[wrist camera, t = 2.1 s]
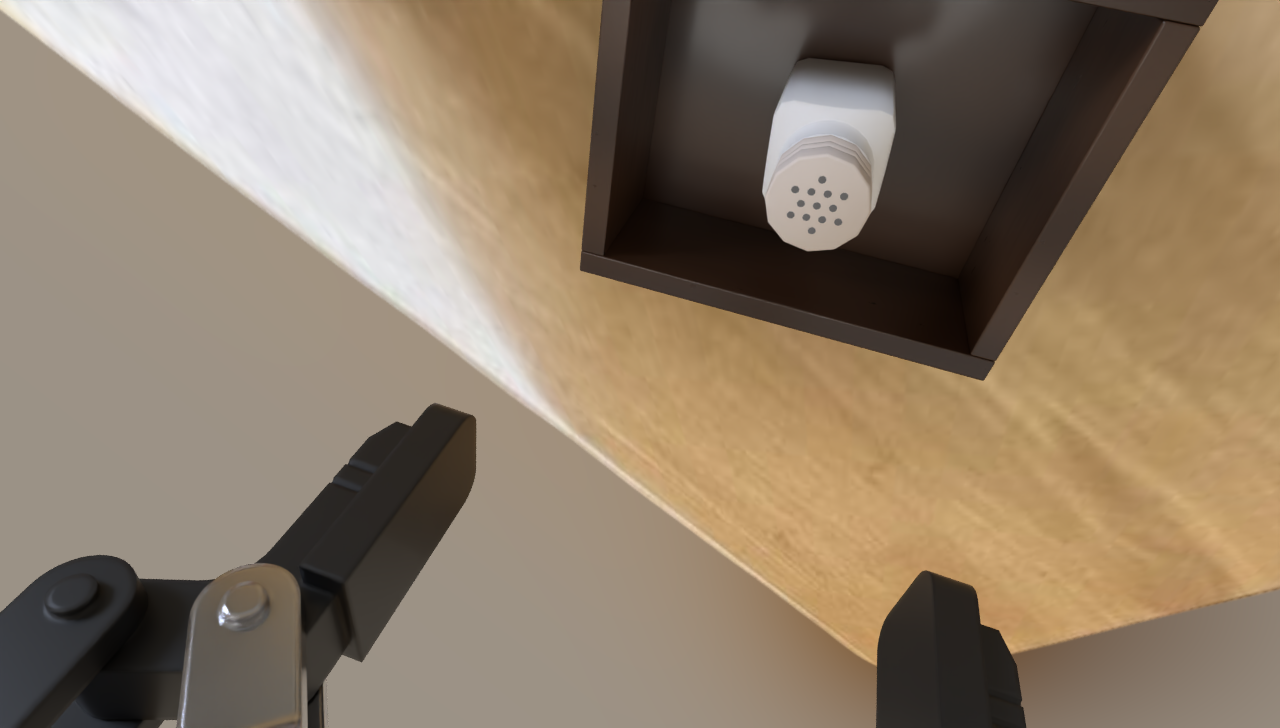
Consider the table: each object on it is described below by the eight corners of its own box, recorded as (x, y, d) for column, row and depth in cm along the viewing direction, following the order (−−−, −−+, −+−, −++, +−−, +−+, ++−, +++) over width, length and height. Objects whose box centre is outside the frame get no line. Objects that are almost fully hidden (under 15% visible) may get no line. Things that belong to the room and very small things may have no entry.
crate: (665, -137, 25) (612, -130, 20) (1156, -46, 22) (1228, -14, 18) (623, 209, 34) (579, 270, 29) (969, 298, 31) (984, 381, 27)
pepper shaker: (795, 52, 27) (760, 132, 20) (899, 63, 26) (902, 150, 19) (779, 150, 29) (743, 253, 22) (873, 163, 29) (868, 273, 21)
